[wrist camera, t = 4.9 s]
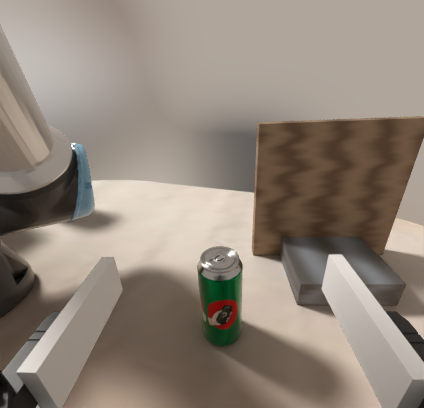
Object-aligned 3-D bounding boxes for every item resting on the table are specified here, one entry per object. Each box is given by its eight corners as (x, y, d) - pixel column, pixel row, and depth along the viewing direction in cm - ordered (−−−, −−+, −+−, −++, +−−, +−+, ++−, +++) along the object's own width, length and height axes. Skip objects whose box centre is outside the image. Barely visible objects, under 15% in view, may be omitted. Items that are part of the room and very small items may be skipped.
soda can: (249, 330, 30) (252, 257, 25) (221, 357, 27) (218, 281, 22) (222, 307, 34) (220, 239, 28) (195, 329, 31) (187, 257, 25)
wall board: (262, 304, 34) (275, 137, 23) (251, 248, 46) (257, 122, 35) (433, 305, 32) (528, 129, 22) (376, 247, 45) (419, 116, 34)
